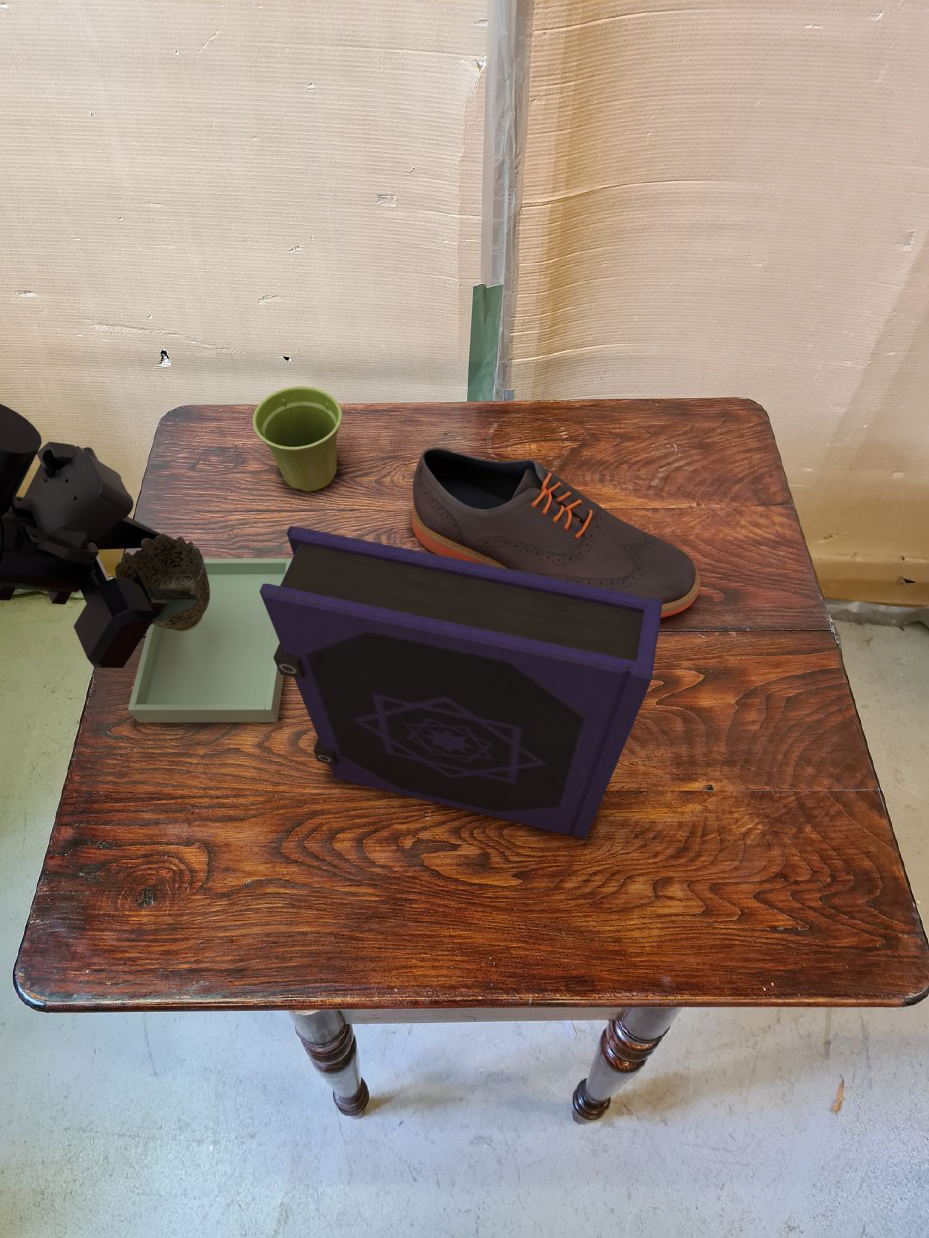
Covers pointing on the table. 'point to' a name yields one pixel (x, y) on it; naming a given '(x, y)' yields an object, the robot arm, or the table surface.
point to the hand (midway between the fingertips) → (178, 570)
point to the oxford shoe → (541, 528)
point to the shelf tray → (216, 654)
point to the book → (462, 676)
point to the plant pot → (301, 434)
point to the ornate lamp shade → (171, 575)
